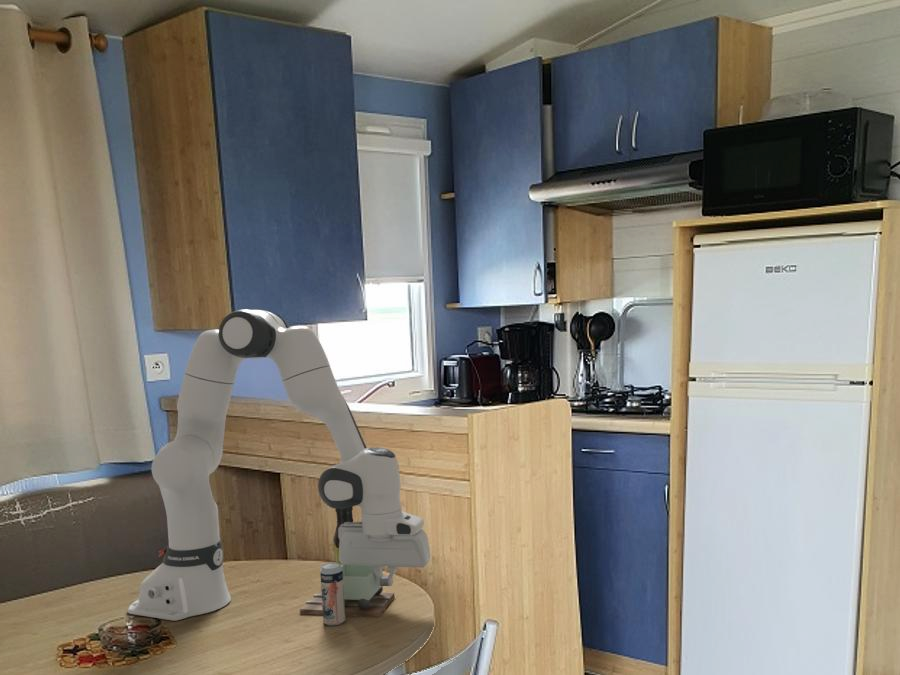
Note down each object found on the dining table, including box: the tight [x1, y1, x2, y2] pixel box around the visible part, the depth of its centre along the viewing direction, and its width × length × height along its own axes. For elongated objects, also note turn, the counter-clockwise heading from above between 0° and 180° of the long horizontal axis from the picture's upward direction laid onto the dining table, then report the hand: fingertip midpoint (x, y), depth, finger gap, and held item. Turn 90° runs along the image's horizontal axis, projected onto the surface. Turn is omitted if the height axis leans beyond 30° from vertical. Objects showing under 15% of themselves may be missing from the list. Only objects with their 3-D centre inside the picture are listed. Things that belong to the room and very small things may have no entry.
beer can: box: [319, 562, 347, 627], centre depth 155 cm, size 5×5×12 cm
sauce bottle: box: [333, 506, 354, 565], centre depth 175 cm, size 7×6×20 cm
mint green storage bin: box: [341, 565, 384, 610], centre depth 163 cm, size 9×9×7 cm
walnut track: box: [299, 590, 395, 618], centre depth 164 cm, size 18×11×1 cm, turn 76°
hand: (385, 585), depth 161 cm, fingers closed
